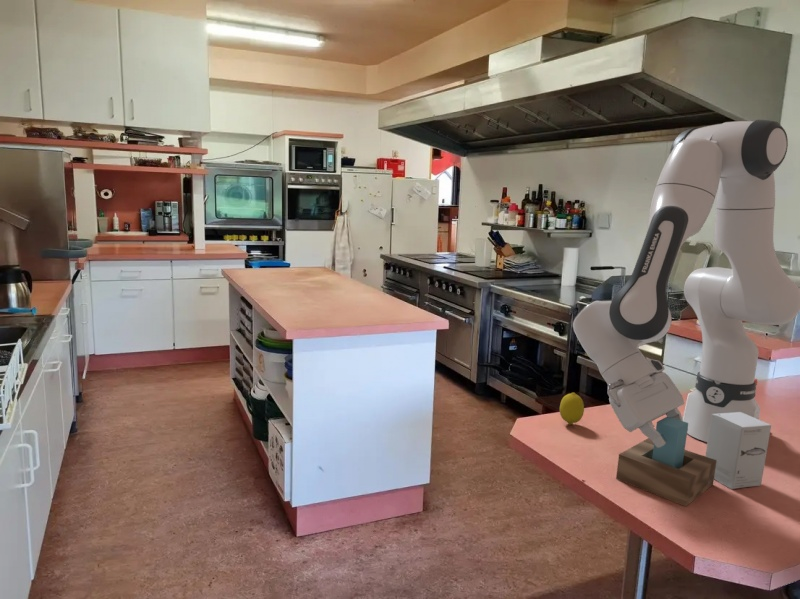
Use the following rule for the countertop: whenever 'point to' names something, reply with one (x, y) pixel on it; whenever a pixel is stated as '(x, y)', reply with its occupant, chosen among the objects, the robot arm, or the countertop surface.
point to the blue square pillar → (671, 442)
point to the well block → (666, 473)
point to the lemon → (571, 408)
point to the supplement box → (738, 448)
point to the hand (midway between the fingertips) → (673, 439)
